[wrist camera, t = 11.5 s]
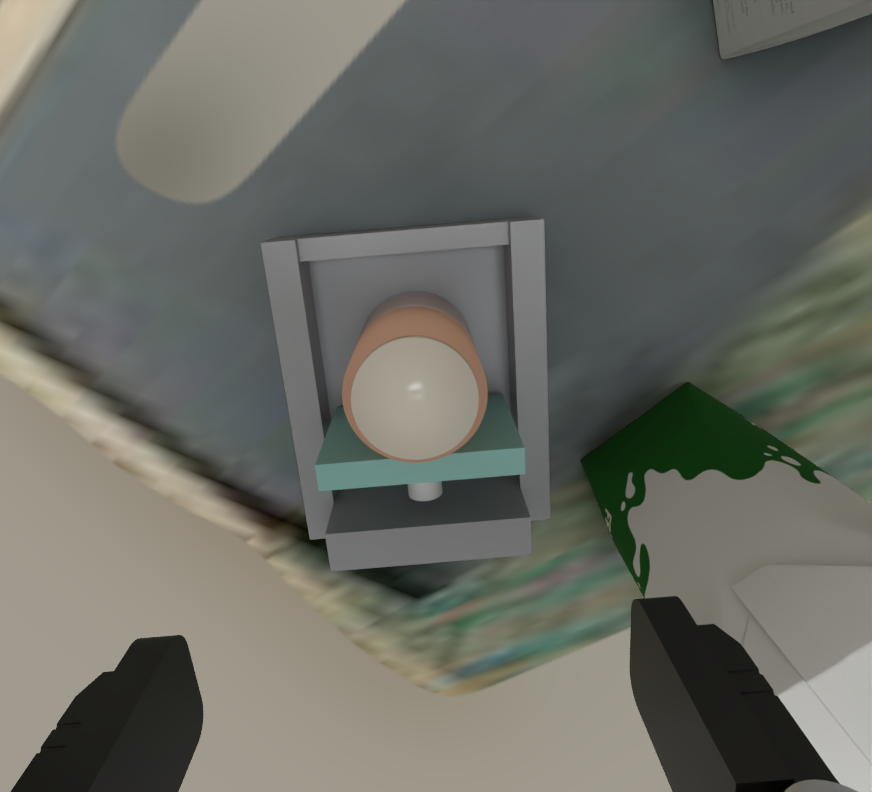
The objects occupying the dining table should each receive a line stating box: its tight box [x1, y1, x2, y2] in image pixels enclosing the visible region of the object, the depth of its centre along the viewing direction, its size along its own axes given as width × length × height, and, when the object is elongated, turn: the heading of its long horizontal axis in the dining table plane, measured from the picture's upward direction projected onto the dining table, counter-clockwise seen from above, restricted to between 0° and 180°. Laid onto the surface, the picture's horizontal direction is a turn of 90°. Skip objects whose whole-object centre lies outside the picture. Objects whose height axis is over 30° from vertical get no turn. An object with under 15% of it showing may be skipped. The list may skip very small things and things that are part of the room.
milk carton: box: [581, 382, 872, 792], centre depth 25 cm, size 9×9×20 cm
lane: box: [261, 216, 551, 571], centre depth 29 cm, size 12×15×6 cm
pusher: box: [315, 394, 525, 501], centre depth 29 cm, size 9×3×7 cm, turn 95°
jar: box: [342, 291, 488, 463], centre depth 27 cm, size 6×6×9 cm
